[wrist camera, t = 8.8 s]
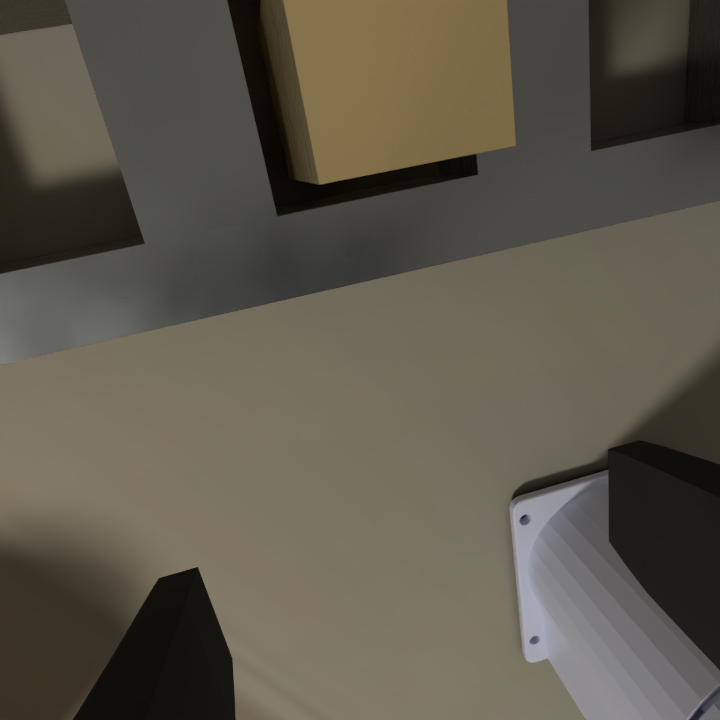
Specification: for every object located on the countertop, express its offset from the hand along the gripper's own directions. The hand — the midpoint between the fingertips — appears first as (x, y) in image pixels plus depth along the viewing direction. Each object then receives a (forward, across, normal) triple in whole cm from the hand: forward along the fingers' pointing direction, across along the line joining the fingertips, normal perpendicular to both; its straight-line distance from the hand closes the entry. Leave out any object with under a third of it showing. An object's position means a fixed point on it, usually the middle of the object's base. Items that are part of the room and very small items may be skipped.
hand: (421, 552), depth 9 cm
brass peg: (+10, -2, -8) cm, 13 cm away
